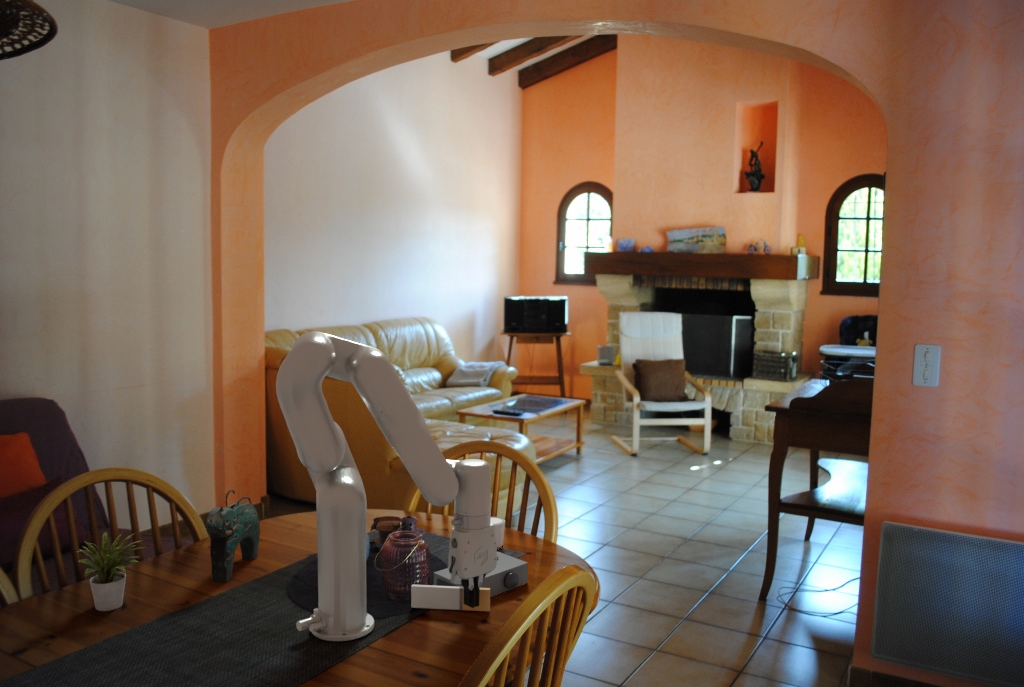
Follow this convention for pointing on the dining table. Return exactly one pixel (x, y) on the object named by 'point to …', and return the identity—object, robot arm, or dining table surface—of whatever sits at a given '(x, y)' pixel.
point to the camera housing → (494, 575)
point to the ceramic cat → (232, 536)
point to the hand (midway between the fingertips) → (471, 604)
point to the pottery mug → (385, 526)
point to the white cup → (498, 529)
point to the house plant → (108, 572)
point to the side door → (446, 598)
